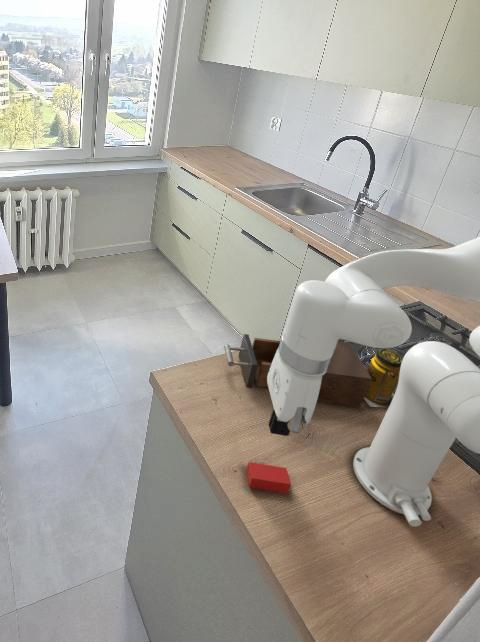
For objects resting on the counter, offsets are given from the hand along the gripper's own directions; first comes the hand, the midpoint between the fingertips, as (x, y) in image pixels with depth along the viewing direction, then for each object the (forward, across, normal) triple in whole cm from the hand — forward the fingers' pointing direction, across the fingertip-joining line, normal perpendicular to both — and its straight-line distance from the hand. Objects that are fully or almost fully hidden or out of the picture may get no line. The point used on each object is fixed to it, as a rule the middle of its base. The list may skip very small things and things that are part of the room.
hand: (278, 430), depth 75 cm
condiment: (+12, -26, +31) cm, 42 cm away
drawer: (+11, -26, +5) cm, 29 cm away
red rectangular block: (+12, +1, 0) cm, 12 cm away
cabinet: (+12, -26, +17) cm, 34 cm away
